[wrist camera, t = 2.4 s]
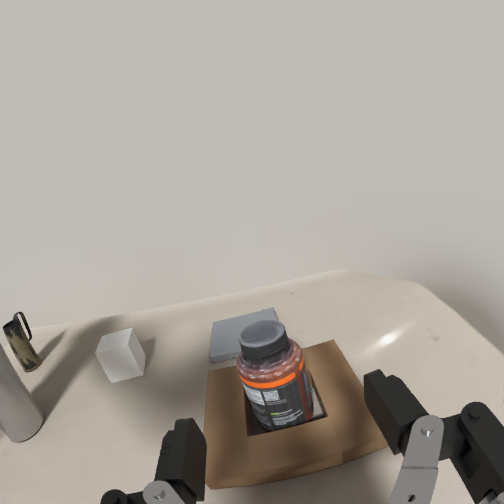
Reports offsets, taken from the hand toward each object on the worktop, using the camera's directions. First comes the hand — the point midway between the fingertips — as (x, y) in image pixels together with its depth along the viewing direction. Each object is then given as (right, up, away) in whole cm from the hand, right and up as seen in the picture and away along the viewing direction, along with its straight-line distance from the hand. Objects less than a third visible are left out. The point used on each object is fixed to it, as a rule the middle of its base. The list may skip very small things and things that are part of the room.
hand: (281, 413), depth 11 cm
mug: (-51, -19, +34) cm, 64 cm away
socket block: (+2, -10, +14) cm, 18 cm away
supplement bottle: (+2, -10, +14) cm, 18 cm away
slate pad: (-2, -6, +33) cm, 33 cm away
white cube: (-21, -12, +29) cm, 38 cm away
